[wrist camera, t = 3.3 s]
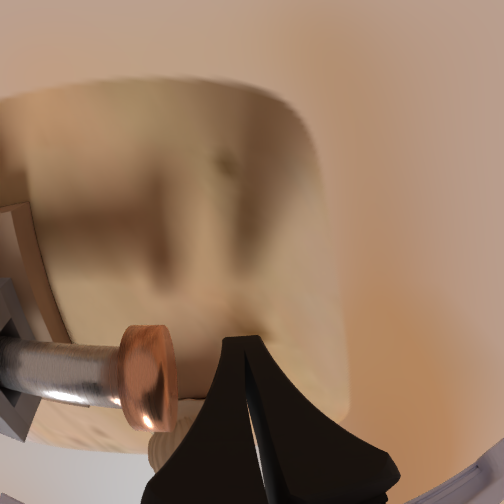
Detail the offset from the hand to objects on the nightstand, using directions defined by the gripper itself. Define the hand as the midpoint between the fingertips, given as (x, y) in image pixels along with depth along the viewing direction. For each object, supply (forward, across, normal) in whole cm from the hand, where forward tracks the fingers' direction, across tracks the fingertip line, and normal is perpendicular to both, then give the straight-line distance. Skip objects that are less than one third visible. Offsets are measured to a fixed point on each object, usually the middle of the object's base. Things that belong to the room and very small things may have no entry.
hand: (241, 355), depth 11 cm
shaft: (+1, +8, 0) cm, 8 cm away
